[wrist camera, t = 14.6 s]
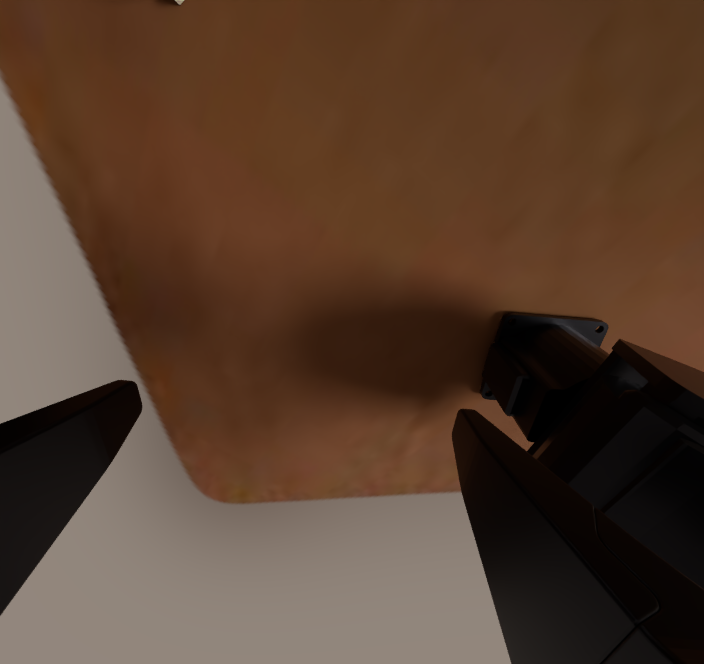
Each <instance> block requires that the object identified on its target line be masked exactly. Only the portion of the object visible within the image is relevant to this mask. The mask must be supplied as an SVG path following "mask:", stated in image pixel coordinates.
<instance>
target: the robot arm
mask: <svg viewBox="0 0 704 664" xmlns="http://www.w3.org/2000/svg"><path fill="white" fill-rule="evenodd" d="M512 318H514V320H513V322H511V323H508V321H509V320H510V319H512ZM598 326H600V327H599V328H598V329H597V330H595V329H596V328H597V327H598ZM607 330H608V325H607V324H606V323H605V322H603V321H602V320H598V319H586V318H574V317H562V316H550V315H538V314H526V313H514V312H510V313H507V314H505V315H504V316H503V317H502V319H501V323H500V326H499V329H498V332H497V336H496V339H495V342H494V343H493V344H492V345H491V347H490V350H489V353H488V356H487V360H486V363H485V366H484V370H483V373H482V377H483V382H482V385H481V388H480V393H481V395H482V397H483V398H484V399H489V400H497V401H498V403H499V405H500V406H501V408H502V410H503V411H504V413H505V414H506V415H507V416H513V418H514V420H515V421H516V423H517V424H518V426H519V427H520V429H521V431H522V432H523V434H524V435H525V437H526V439H527V440H528V441H529V442H535V443H534V444H533V445H532V446H531V447H530V448H529V450H528V451H525V450H524V449H523V448H522V447H520V446H519V445H518V444H517V443H515V442H514V441H513V440H512V439H510V438H509V437H508V436H507V435H505V434H504V433H503V432H502V431H500V430H499V429H498V428H497V427H496V426H494V425H493V424H492V423H491V422H489V421H488V420H487V419H486V418H484V417H483V416H482V415H481V414H479V413H478V412H477V411H475V410H472V409H460V410H459V411H458V413H457V417H456V420H455V424H454V427H453V431H452V441H453V447H454V453H455V458H456V464H457V470H458V476H459V481H460V486H461V491H462V495H463V499H464V503H465V506H466V510H467V513H468V516H469V520H470V523H471V527H472V530H473V533H474V537H475V540H476V544H477V547H478V551H479V554H480V558H481V561H482V564H483V568H484V571H485V574H486V578H487V582H488V585H489V588H490V591H491V595H492V599H493V602H494V605H495V609H496V612H497V616H498V619H499V623H500V626H501V629H502V633H503V636H504V639H505V643H506V647H507V650H508V653H509V657H510V660H511V664H704V372H702V371H700V370H697V369H695V368H692V367H690V366H687V365H685V364H682V363H680V362H677V361H675V360H672V359H670V358H667V357H665V356H662V355H660V354H657V353H654V352H652V351H649V350H647V349H644V348H642V347H639V346H637V345H634V344H632V343H629V342H627V341H624V340H622V339H619V340H618V341H617V342H616V344H615V345H614V346H613V347H612V349H613V351H612V352H611V354H608V353H607V352H605V351H604V350H602V349H601V348H600V345H601V343H602V341H603V339H604V337H605V335H606V332H607ZM487 391H490V392H489V393H486V392H487ZM141 411H142V402H141V398H140V394H139V390H138V387H137V384H136V383H135V382H133V381H127V380H117V381H114V382H111V383H108V384H106V385H103V386H101V387H98V388H95V389H93V390H90V391H87V392H84V393H82V394H79V395H76V396H74V397H71V398H68V399H66V400H63V401H60V402H57V403H55V404H52V405H49V406H47V407H44V408H41V409H39V410H36V411H33V412H31V413H28V414H25V415H23V416H20V417H17V418H15V419H12V420H9V421H6V422H4V423H1V424H0V615H1V614H2V613H3V611H4V610H5V609H6V607H7V606H8V604H9V603H10V602H11V600H12V599H13V598H14V596H15V595H16V593H17V592H18V591H19V589H20V588H21V587H22V585H23V584H24V582H25V581H26V580H27V578H28V577H29V576H30V574H31V573H32V571H33V570H34V569H35V567H36V566H37V565H38V563H39V562H40V560H41V559H42V558H43V556H44V555H45V554H46V552H47V551H48V549H49V548H50V547H51V545H52V544H53V542H54V541H55V540H56V538H57V537H58V536H59V534H60V533H61V532H62V530H63V529H64V527H65V526H66V525H67V523H68V522H69V521H70V519H71V518H72V516H73V515H74V514H75V512H76V511H77V509H78V508H79V507H80V506H81V504H82V503H83V501H84V500H85V499H86V497H87V496H88V495H89V493H90V492H91V490H92V489H93V488H94V486H95V485H96V484H97V482H98V481H99V479H100V478H101V476H102V475H103V474H104V473H105V471H106V470H107V468H108V467H109V465H110V464H111V462H112V461H113V459H114V457H115V456H116V454H117V453H118V451H119V449H120V448H121V446H122V444H123V442H124V441H125V439H126V437H127V436H128V434H129V432H130V431H131V429H132V427H133V426H134V424H135V422H136V421H137V419H138V417H139V415H140V414H141Z"/></svg>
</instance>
